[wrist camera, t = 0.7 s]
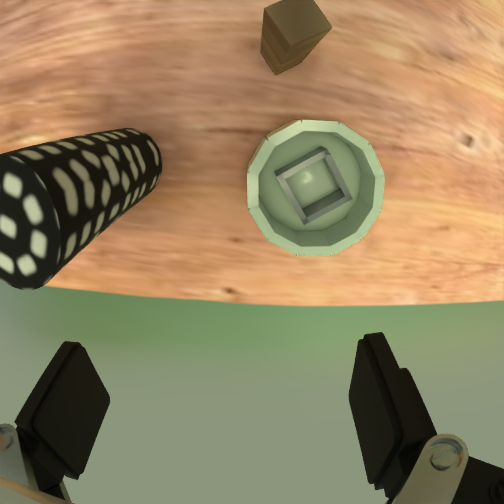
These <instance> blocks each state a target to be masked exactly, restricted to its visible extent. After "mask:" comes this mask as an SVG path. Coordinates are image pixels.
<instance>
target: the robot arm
mask: <svg viewBox="0 0 504 504" xmlns="http://www.w3.org/2000/svg"><path fill="white" fill-rule="evenodd" d="M349 402H350V406H351V410H352V415H353V419H354V422H355V427H356V431H357V435H358V439H359V443H360V447H361V451H362V456H363V461H364V465H365V470H366V474H367V479H368V482H369V483H370V484H373V483H374V486H375V490H379V489H384V491H385V496H386V497H388V499H387V501H386V503H385V504H504V469H502V468H500V467H497V466H494V465H491V464H489V463H486V462H483V461H481V460H478V459H475V458H473V457H470V456H469V454H468V448H467V446H466V444H465V442H463V440H462V439H460V438H459V437H457V436H455V435H452V434H439V435H437V432H436V430H435V428H434V425H433V423H432V421H431V418H430V416H429V413H428V411H427V409H426V406H425V404H424V402H423V400H422V398H421V395H420V393H419V391H418V389H417V386H416V384H415V382H414V380H413V378H412V376H411V374H410V372H409V370H408V369H407V368H399V366H398V364H397V362H396V360H395V357H394V355H393V353H392V351H391V349H390V346H389V344H388V342H387V340H386V338H385V336H384V334H383V333H382V332H378V333H371V334H365V335H364V338H363V339H360V340H359V341H358V346H357V352H356V358H355V364H354V369H353V374H352V379H351V384H350V390H349ZM109 404H110V397H109V394H108V392H107V390H106V388H105V387H104V385H103V383H102V381H101V379H100V377H99V375H98V374H97V372H96V370H95V368H94V366H93V364H92V362H91V360H90V358H89V356H88V354H87V352H86V349H85V348H84V347H82V346H81V344H80V343H79V342H69V341H65V342H64V343H63V344H62V345H61V347H60V348H59V349H58V351H57V353H56V354H55V356H54V357H53V359H52V360H51V362H50V363H49V365H48V366H47V368H46V369H45V371H44V373H43V374H42V376H41V377H40V379H39V381H38V382H37V384H36V386H35V388H34V389H33V390H32V392H31V394H30V395H29V397H28V399H27V401H26V402H25V404H24V406H23V407H22V409H21V411H20V413H19V415H18V416H17V418H16V420H15V423H16V425H17V428H16V429H15V428H14V427H13V426H12V425H10V424H0V504H74V503H72V502H71V499H70V497H69V494H68V492H67V489H66V487H65V484H64V482H63V477H64V475H65V476H66V477H69V478H72V479H76V480H78V478H79V476H80V474H82V473H83V472H84V470H85V467H86V464H87V461H88V459H89V456H90V453H91V450H92V448H93V445H94V442H95V440H96V437H97V434H98V432H99V429H100V427H101V424H102V422H103V419H104V416H105V414H106V411H107V409H108V406H109Z"/></svg>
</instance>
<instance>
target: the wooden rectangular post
mask: <svg viewBox="0 0 504 504" xmlns="http://www.w3.org/2000/svg"><path fill="white" fill-rule="evenodd" d="M331 28H332V26H331V24H330V23H329V21H328V20H327V19H326V17H325V16H324V14H323V13H322V11H321V10H320V8H319V7H318V6H317V4H316V3H315V2H314V0H281V1H279V2H277V3H275V4H272V5H270V6H268V7H266V8H264V15H263V26H262V38H261V50H260V53H261V54H262V56H263V57H264V59H265V60H266V62H267V63H268V65H269V66H270V68H271V69H272V71H273V72H274V74H275V75H277V74H279V73H281V72H283V71H285V70H287V69H289V68H291V67H293V66H295V65H297V64H299V63H301V62H302V61H303V60H304V59H305V57H306V56H307V55H308V54H309V53H310V52H311V50H312V49H313V48H314V47H315V46H316V45H317V44H318V43H319V41H320V40H321V39H322V38H323V37H324V36H325V35H326V34H327V33H328V32H329V30H330V29H331Z"/></svg>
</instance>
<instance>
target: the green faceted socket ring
mask: <svg viewBox="0 0 504 504" xmlns="http://www.w3.org/2000/svg"><path fill="white" fill-rule="evenodd" d="M266 137H267V138H266ZM266 137H264V138H263V139H262V141H261V143H260V144H259V146H258V148H257V150H256V151H255V153H254V155H253V156H252V158H251V160H250V162H249V164H248V169H247V201H248V211H249V212H250V214H251V216H252V217H253V219H254V220H255V222H256V224H257V225H258V227H259V228H260V230H261V232H262V233H263V235H264V236H265V238H266V239H267V240H268V241H270V242H272V243H274V244H276V245H277V246H279V247H281V248H283V249H285V250H287V251H289V252H291V253H293V254H294V255H296V256H297V254H298V256H331V253H332V255H334V254H336V253H338V252H340V251H342V250H344V249H345V248H347V247H349V246H351V245H353V244H355V243H356V242H358V241H360V240H361V238H364V236H365V235H366V233H367V232H368V230H369V229H370V227H371V226H372V224H373V223H374V221H375V220H376V218H377V217H378V215H379V214H380V212H381V211H380V210H382V203H383V193H384V182H385V176H383V175H385V174H384V172H383V170H382V167H381V165H380V163H379V161H378V159H377V156H376V154H375V152H374V150H373V148H372V146H371V144H370V143H369V142H368V141H367V140H366V139H364V138H363V137H361V136H360V135H358V134H357V133H356V132H354V131H353V130H351V129H350V128H348V127H347V126H345V125H344V124H342V123H341V122H337V121H320V120H292V121H290V122H288V123H287V124H285V125H283V126H281V127H279V128H277V129H276V130H274V131H272V132H270V133H268V134H267V135H266ZM258 193H259V195H258Z"/></svg>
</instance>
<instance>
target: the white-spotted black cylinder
mask: <svg viewBox="0 0 504 504" xmlns="http://www.w3.org/2000/svg"><path fill="white" fill-rule="evenodd" d="M161 171H162V159H161V154H160V151H159V149H158V147H157V145H156V143H155V142H154V141H153V139H152V138H151V137H150V136H148V135H147V134H146V133H144V132H142V131H140V130H137V129H133V128H124V129H117V130H110V131H104V132H98V133H92V134H86V135H80V136H75V137H70V138H65V139H60V140H55V141H51V142H46V143H42V144H38V145H33V146H29V147H25V148H21V149H18V150H14V151H10V152H7V153H3V154H0V279H1V280H2V281H4V282H5V283H7V284H9V285H11V286H12V287H15V288H18V289H22V290H33V289H37V288H40V287H42V286H43V285H45V284H47V283H48V282H49V281H50V280H51V279H52V278H53V277H54V276H55V275H56V274H57V273H58V272H59V271H60V270H61V269H62V268H63V267H64V266H65V265H66V264H67V263H68V262H69V261H71V260H72V259H73V258H74V257H75V256H76V255H77V254H78V253H79V252H80V251H81V250H83V249H84V248H85V247H86V246H87V245H88V244H89V243H90V242H91V241H93V240H94V239H95V238H96V237H97V236H98V235H99V234H101V233H102V232H103V231H104V230H105V229H106V228H108V227H109V226H110V225H111V224H112V223H113V222H115V221H116V220H117V219H118V218H119V217H121V216H122V215H123V214H124V213H125V212H127V211H128V210H129V209H130V208H132V207H133V206H134V205H135V204H137V203H138V202H139V201H140V200H142V199H143V198H144V197H145V196H147V195H148V194H149V193H150V192H151V191H152V190H153V189H154V188H155V186H156V185H157V183H158V181H159V179H160V175H161Z"/></svg>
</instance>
